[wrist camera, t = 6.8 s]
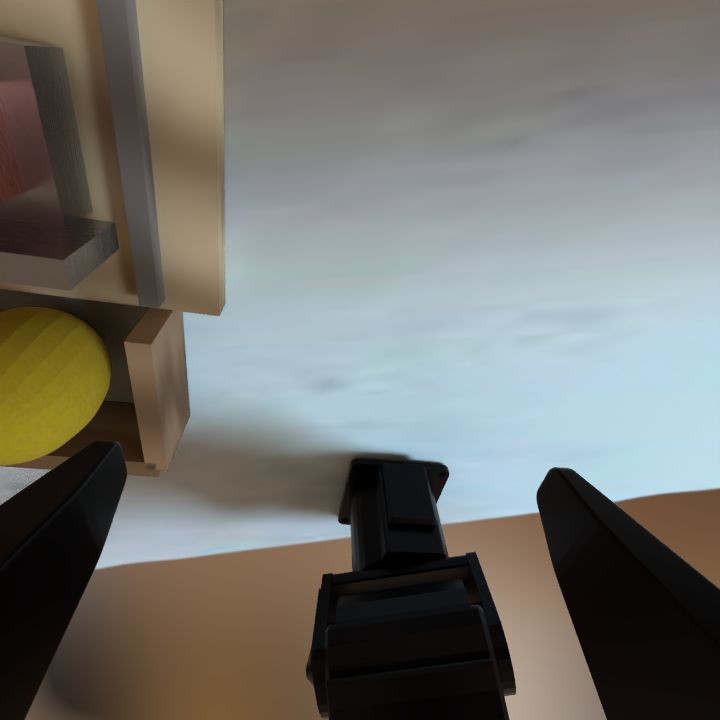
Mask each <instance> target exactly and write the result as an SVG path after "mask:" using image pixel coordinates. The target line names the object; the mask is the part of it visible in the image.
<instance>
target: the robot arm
mask: <svg viewBox="0 0 720 720" xmlns="http://www.w3.org/2000/svg"><path fill="white" fill-rule="evenodd" d="M448 477H449V470H448V468H447V466H445V465H436V464H423V463H410V462H398V461H385V460H372V459H354V460H353V461H352V462H351V464H350V468H349V472H348V477H347V481H346V485H345V489H344V493H343V497H342V501H341V505H340V509H339V514H338V522H339V523H341V524H347V525H351V548H352V570H353V571H352V572H347V573H340V574H333V573H328V574H323V577H322V584H321V589H319V593H318V601H317V609H316V616H315V624H314V632H313V640H312V647H311V650H310V654H309V658H308V661H307V666H306V676H307V678H308V680H309V681H310V682H311V683H312V684H313V686H314V689H315V694H316V701H317V706H318V709H319V713H320V715H321V717H322V718H324V719H327V718H329V720H509V716H508V712H507V707H506V703H505V698H504V696H508V695H515V694H516V686H515V678H514V672H513V667H512V662H511V658H510V654H509V649H508V645H507V642H506V638H505V635H504V631H503V628H502V624H501V621H500V619H499V615H498V613H497V610H496V607H495V604H494V602H493V599H492V596H491V593H490V591H489V588H488V585H487V582H486V580H485V577H484V574H483V572H482V569H481V566H480V563H479V560H478V558H477V555H476V552H470V553H466V555H462V556H455V557H449V556H448V552H447V548H446V544H445V540H444V536H443V531H442V527H441V523H440V518H439V514H438V510H437V506H436V503H437V501H438V499H439V497H440V495H441V492H442V490H443V488H444V486H445V484H446V481H447V479H448ZM126 478H127V467H126V463H125V459H124V455H123V451H122V447H121V445H120V443H119V442H117V441H108V440H96V441H94V442H92V443H90V444H89V445H87V446H86V447H84V448H83V449H81V450H80V451H78V452H77V453H76V454H74V455H73V456H71V457H70V458H68V459H67V460H65V461H64V462H62V463H61V464H60V465H58V466H57V467H55V468H54V469H52V470H51V471H49V472H48V473H46V474H45V475H44V476H42V477H41V478H39V479H38V480H36V481H35V482H33V483H32V484H30V485H29V486H28V487H26V488H25V489H23V490H22V491H20V492H19V493H17V494H16V495H14V496H13V497H12V498H10V499H9V500H7V501H6V502H4V503H3V504H1V505H0V720H25V718H26V715H27V713H28V711H29V709H30V707H31V705H32V702H33V700H34V698H35V696H36V694H37V692H38V689H39V688H40V685H41V683H42V681H43V679H44V677H45V674H46V672H47V670H48V668H49V666H50V664H51V662H52V660H53V657H54V655H55V653H56V651H57V649H58V647H59V644H60V642H61V640H62V638H63V636H64V634H65V631H66V629H67V627H68V625H69V623H70V621H71V619H72V617H73V614H74V612H75V610H76V608H77V606H78V604H79V601H80V599H81V597H82V595H83V593H84V591H85V588H86V586H87V584H88V582H89V580H90V578H91V576H92V573H93V571H94V569H95V567H96V565H97V562H98V560H99V558H100V555H101V552H102V550H103V547H104V544H105V541H106V538H107V535H108V532H109V530H110V527H111V524H112V521H113V518H114V515H115V512H116V509H117V506H118V503H119V500H120V497H121V494H122V491H123V488H124V485H125V482H126ZM537 504H538V508H539V512H540V516H541V520H542V524H543V528H544V532H545V537H546V541H547V544H548V549H549V553H550V556H551V561H552V564H553V568H554V571H555V574H556V577H557V580H558V583H559V586H560V588H561V591H562V594H563V597H564V600H565V603H566V605H567V608H568V611H569V614H570V617H571V619H572V622H573V625H574V628H575V631H576V634H577V636H578V639H579V642H580V645H581V648H582V650H583V653H584V656H585V659H586V662H587V664H588V667H589V670H590V672H591V676H592V679H593V681H594V684H595V687H596V690H597V692H598V696H599V698H600V701H601V704H602V706H603V710H604V712H605V715H606V718H607V720H720V589H719V588H718V587H716V586H715V585H714V584H713V583H712V582H710V581H709V580H708V579H707V578H706V577H704V576H703V575H702V574H701V573H699V572H698V571H697V570H696V569H694V568H693V567H692V566H691V565H690V564H688V563H687V562H686V561H685V560H683V559H682V558H681V557H680V556H678V555H677V554H676V553H675V552H673V551H672V550H671V549H670V548H669V547H667V546H666V545H665V544H663V543H662V542H661V541H660V540H659V539H658V538H656V537H655V536H654V535H653V534H651V533H650V532H649V531H648V530H646V529H645V528H644V527H643V526H642V525H640V524H639V523H638V522H637V521H635V520H634V519H633V518H632V517H630V516H629V515H628V514H626V512H624V511H623V510H622V509H621V508H619V507H618V506H617V505H616V504H614V503H613V502H612V501H611V500H610V499H608V498H607V497H606V496H605V495H603V494H602V493H601V492H600V491H599V490H597V489H596V488H595V487H594V486H592V485H591V484H590V483H589V482H587V481H586V480H585V479H584V478H583V477H581V476H580V475H579V474H578V473H576V472H575V471H574V470H572V469H569V468H558V467H554V468H552V469H550V470H549V471H548V473H547V475H546V477H545V478H544V480H543V482H542V484H541V485H540V487H539V489H538V491H537Z"/></svg>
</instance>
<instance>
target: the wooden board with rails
mask: <svg viewBox="0 0 720 720" xmlns="http://www.w3.org/2000/svg"><path fill="white" fill-rule="evenodd" d="M0 35H2V36H7V37H11V38H16V39H21V40H26V41H31V42H36V43H41V44H46V45H51V46H56V47H61V48H63V51H64V57H65V62H66V68H67V73H68V78H69V84H70V89H71V95H72V100H73V106H74V111H75V116H76V122H77V127H78V133H79V138H80V144H81V149H82V154H83V160H84V165H85V171H86V176H87V182H88V187H89V192H90V198H91V203H92V209H93V212H91V213H89V214H88V215H86V216H84V217H83V218H89V219H95V220H102V221H109V222H115V225H116V231H117V238H118V244H119V249H118V250H117V251H116V252H115V253H114V254H113V255H111V256H110V257H109V258H108V259H107V260H106V261H104V262H103V263H102V264H101V265H100V266H99V267H97V268H96V269H95V270H94V271H93V272H92V273H91V274H89V275H88V276H87V277H86V278H85V279H84V280H82V281H81V282H80V283H79V284H78V285H77V286H75V287H74V288H73V289H72V290H71V291H68V290H60V289H52V288H44V287H36V286H28V285H20V284H12V283H4V282H0V289H5V290H13V291H21V292H29V293H37V294H45V295H53V296H61V297H69V298H78V299H86V300H94V301H102V302H110V303H118V304H126V305H134V306H142V307H150V308H158V309H167V310H175V311H183V312H191V313H199V314H207V315H215V316H220V314H221V312H222V310H223V307H224V305H225V223H224V101H223V0H0Z"/></svg>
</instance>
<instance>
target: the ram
mask: <svg viewBox="0 0 720 720" xmlns="http://www.w3.org/2000/svg"><path fill="white" fill-rule="evenodd" d="M91 212H93V209H92V203H91V198H90V192H89V187H88V182H87V176H86V171H85V165H84V160H83V154H82V149H81V144H80V138H79V133H78V127H77V122H76V116H75V111H74V106H73V100H72V95H71V89H70V84H69V78H68V73H67V68H66V62H65V57H64V51H63V48H61V47H56V46H51V45H46V44H41V43H36V42H31V41H26V40H21V39H16V38H11V37H7V36H2V35H0V282H4V283H12V284H20V285H28V286H36V287H44V288H52V289H60V290H68V291H71V290H72V289H73V288H74V287H75V286H77V285H78V284H79V283H80V282H81V281H82V280H84V279H85V278H86V277H87V276H88V275H89V274H91V273H92V272H93V271H94V270H95V269H96V268H97V267H99V266H100V265H101V264H102V263H103V262H104V261H106V260H107V259H108V258H109V257H110V256H111V255H113V254H114V253H115V252H116V251H117V250H118V249H119V244H118V238H117V231H116V225H115V222H109V221H102V220H95V219H89V218H83V217H84V216H86V215H88V214H89V213H91Z"/></svg>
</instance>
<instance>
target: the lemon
mask: <svg viewBox="0 0 720 720" xmlns="http://www.w3.org/2000/svg"><path fill="white" fill-rule="evenodd" d="M111 372H112V365H111V361H110V356H109V352H108V349H107V348H106V346H105V344H104V342H103V340H102V338H101V337H100V336H99V335H98V334H97V333H96V331H95V330H94V329H93V328H91V327H90V326H89V325H88V324H86V323H85V322H84V321H82V320H80V319H79V318H77V317H75V316H73V315H71V314H68V313H65V312H62V311H59V310H56V309H50V308H44V307H19V308H12V309H8V310H5V311H2V312H0V466H1V465H12V464H19V463H24V462H29V461H31V460H34V459H37V458H39V457H42V456H44V455H47V454H49V453H51V452H53V451H55V450H56V449H58V448H59V447H61V446H62V445H63V444H65V443H66V442H67V441H68V440H70V439H71V438H72V437H73V436H75V435H76V434H77V433H78V432H80V431H81V430H82V429H83V428H84V427H85V426H86V425H87V424H88V423H89V422H90V421H91V419H92V418H93V417H94V415H95V414H96V412H97V411H98V409H99V408H100V406H101V404H102V402H103V400H104V399H105V396H106V394H107V392H108V389H109V386H110V380H111Z"/></svg>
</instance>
